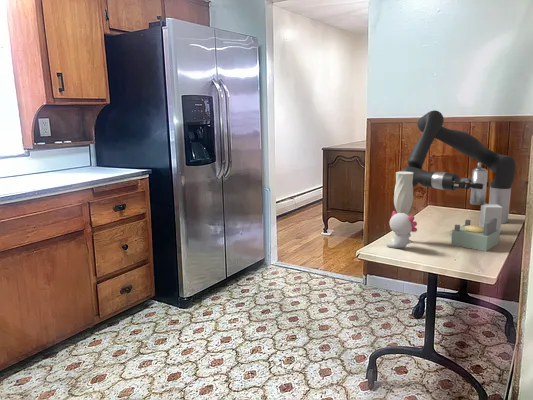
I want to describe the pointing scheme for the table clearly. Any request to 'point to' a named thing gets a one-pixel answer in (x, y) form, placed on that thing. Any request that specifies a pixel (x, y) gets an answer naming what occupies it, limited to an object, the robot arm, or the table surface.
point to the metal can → (481, 177)
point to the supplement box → (491, 214)
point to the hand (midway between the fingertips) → (485, 185)
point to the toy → (401, 229)
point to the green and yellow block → (476, 235)
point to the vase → (403, 192)
